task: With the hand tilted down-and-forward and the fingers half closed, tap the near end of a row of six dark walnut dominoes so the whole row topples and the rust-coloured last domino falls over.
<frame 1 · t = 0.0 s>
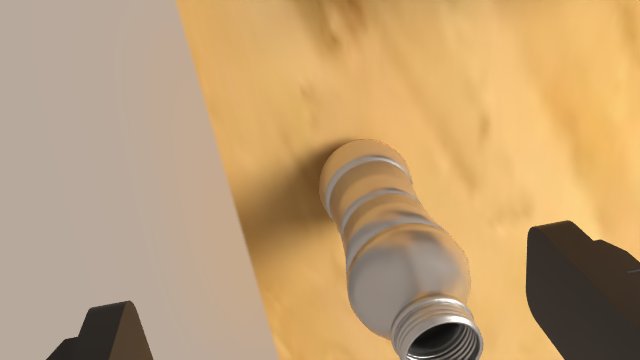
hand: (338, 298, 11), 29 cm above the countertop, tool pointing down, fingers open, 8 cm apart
plastic bottle: (357, 170, 43), on the countertop
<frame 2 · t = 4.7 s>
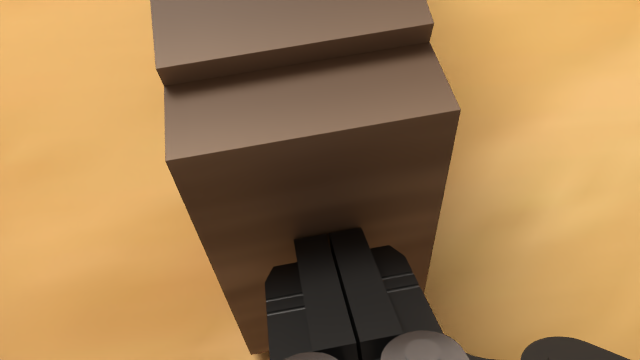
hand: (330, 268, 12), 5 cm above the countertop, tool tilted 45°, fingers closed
domino 2: (307, 196, 19), on the countertop
domino 1: (329, 309, 17), on the countertop, tilted 17°
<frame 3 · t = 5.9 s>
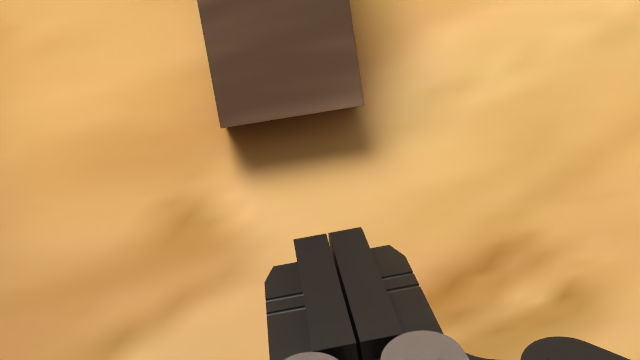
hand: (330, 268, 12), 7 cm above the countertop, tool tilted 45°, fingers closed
domino 1: (292, 115, 20), point 1 cm above the countertop, tilted 62°, touching domino 2
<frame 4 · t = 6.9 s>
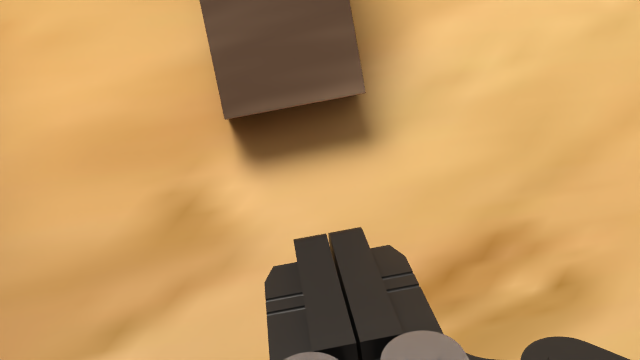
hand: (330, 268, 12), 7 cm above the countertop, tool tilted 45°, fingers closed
domino 1: (294, 106, 21), point 1 cm above the countertop, tilted 63°, touching domino 2
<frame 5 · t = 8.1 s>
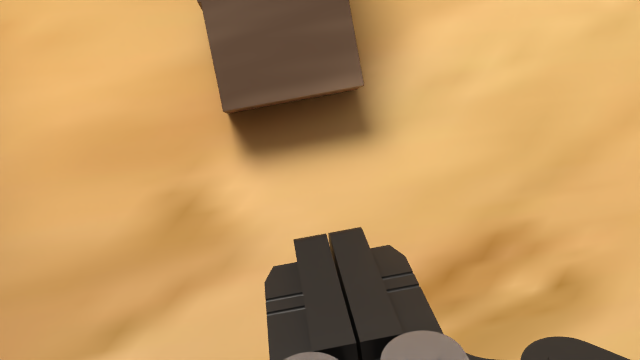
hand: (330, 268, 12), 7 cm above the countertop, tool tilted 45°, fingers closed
domino 1: (293, 99, 21), point 1 cm above the countertop, tilted 66°
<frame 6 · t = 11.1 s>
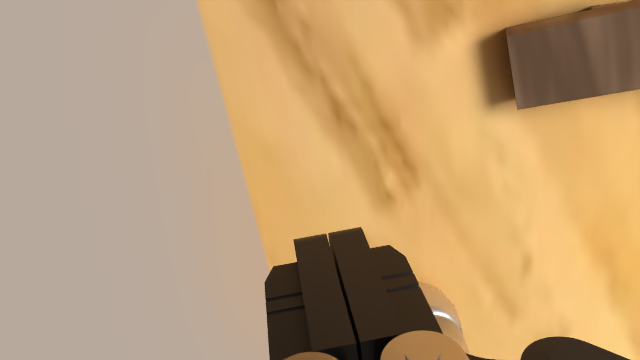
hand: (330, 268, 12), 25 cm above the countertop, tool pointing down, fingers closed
plastic bottle: (404, 304, 45), on the countertop
domino 1: (511, 69, 37), point 1 cm above the countertop, tilted 68°
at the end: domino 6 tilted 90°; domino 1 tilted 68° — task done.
